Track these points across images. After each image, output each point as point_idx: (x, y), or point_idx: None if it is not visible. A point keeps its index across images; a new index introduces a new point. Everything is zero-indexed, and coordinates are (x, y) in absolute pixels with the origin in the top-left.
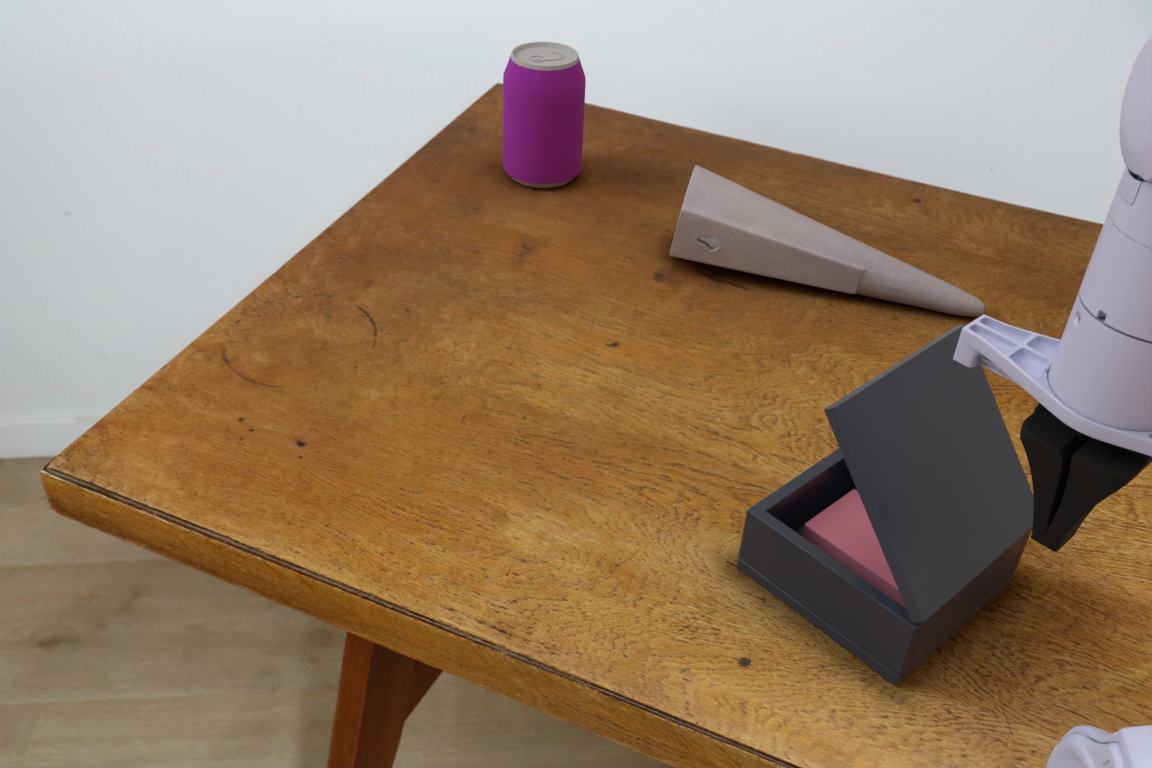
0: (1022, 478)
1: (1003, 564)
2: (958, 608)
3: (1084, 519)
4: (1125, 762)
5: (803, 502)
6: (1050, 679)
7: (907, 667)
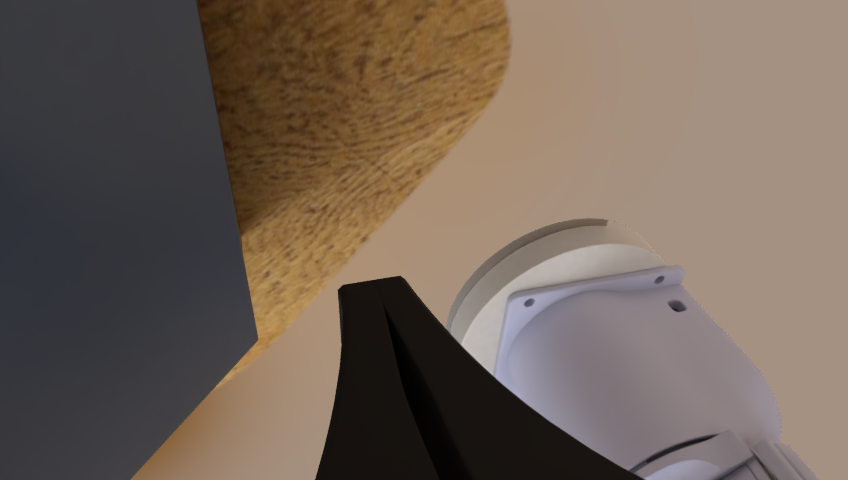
0: None
1: None
2: None
3: (421, 301)
4: None
5: None
6: (374, 50)
7: (240, 241)
